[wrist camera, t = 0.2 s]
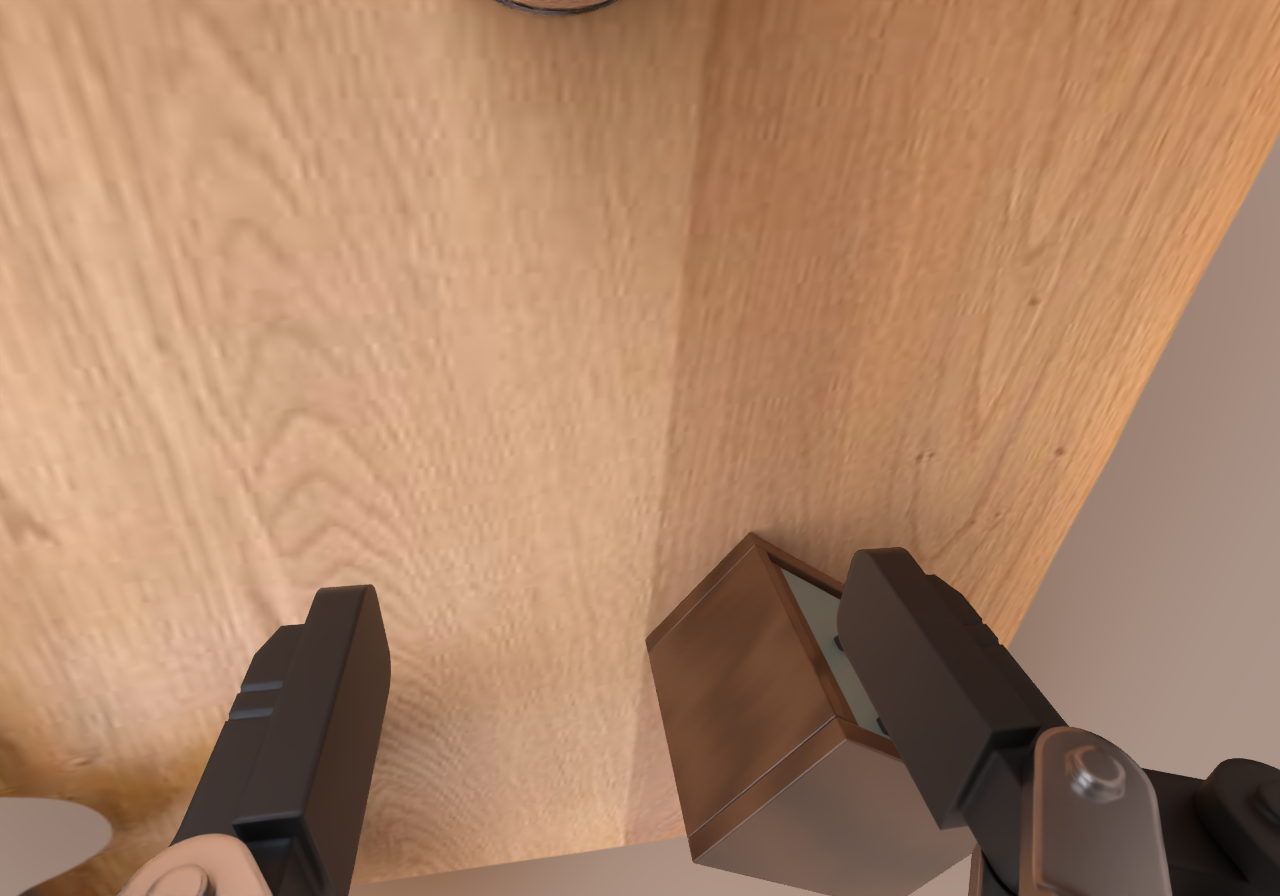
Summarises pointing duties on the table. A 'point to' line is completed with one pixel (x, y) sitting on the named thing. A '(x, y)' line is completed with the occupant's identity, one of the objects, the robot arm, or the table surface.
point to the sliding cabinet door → (831, 649)
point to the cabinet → (783, 746)
